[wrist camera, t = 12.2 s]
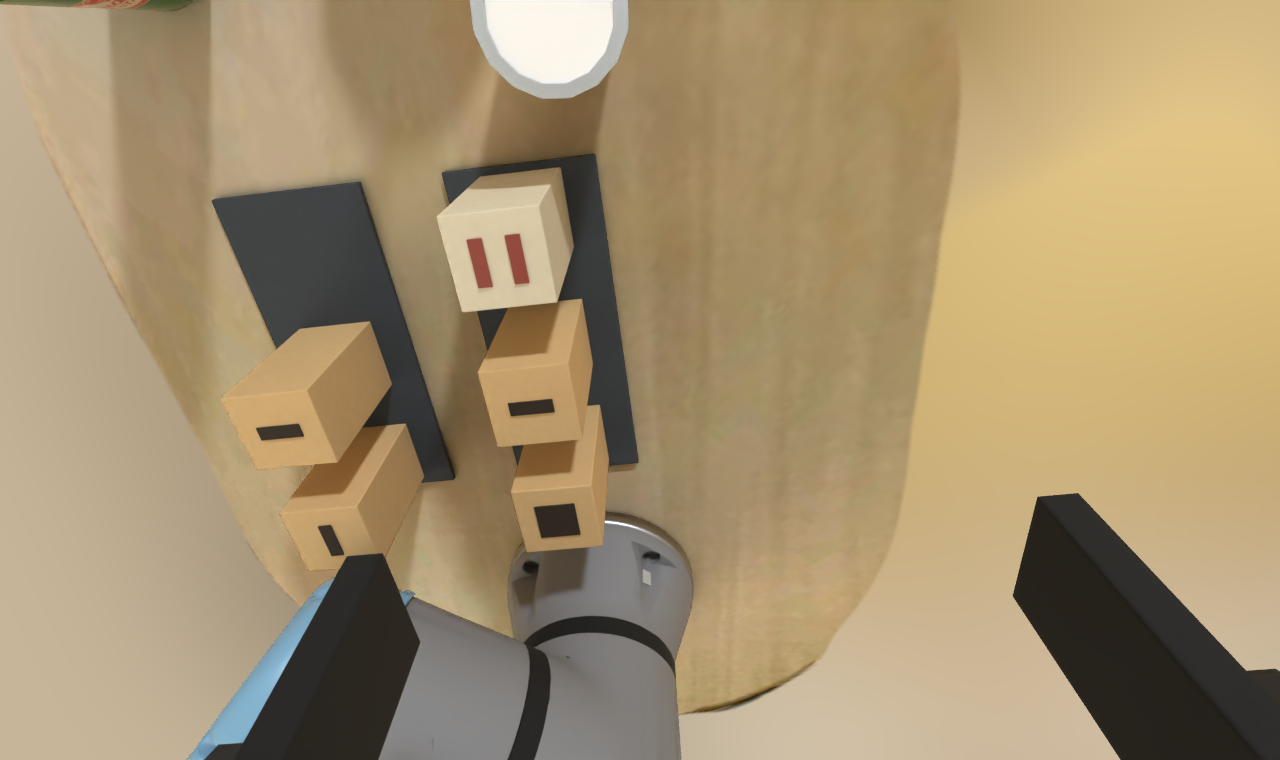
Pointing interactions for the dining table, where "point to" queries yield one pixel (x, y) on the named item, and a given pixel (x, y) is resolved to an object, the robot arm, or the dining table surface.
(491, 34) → the white cup
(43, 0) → the soda can
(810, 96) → the dining table surface
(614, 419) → the right word board
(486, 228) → the cream block
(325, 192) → the left word board
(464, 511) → the dining table surface
